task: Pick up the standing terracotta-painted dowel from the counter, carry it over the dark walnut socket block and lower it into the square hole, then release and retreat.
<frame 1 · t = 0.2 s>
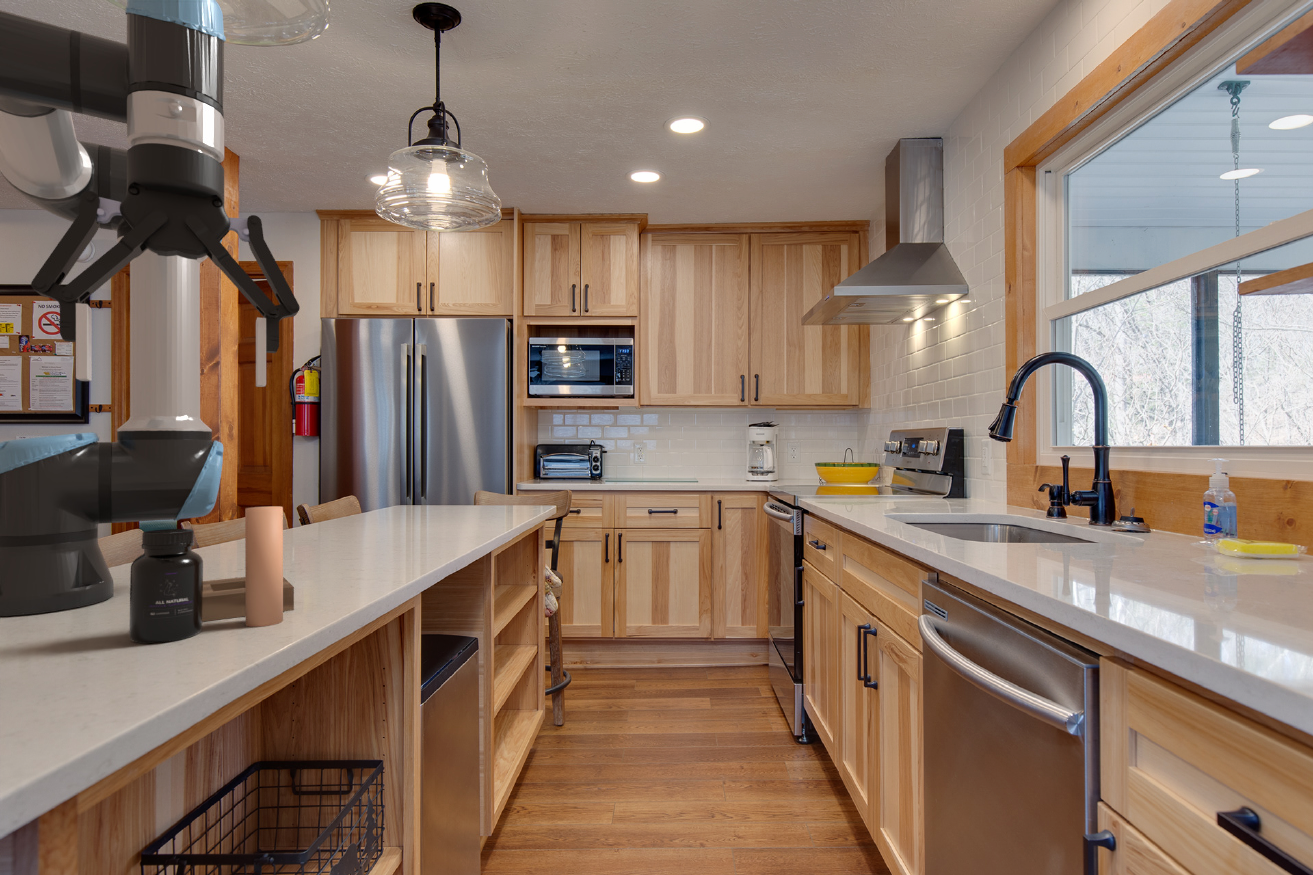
hand: (177, 383, 65), 27 cm above the counter, fingers open, 13 cm apart
dowel: (264, 622, 86), on the counter
socket block: (236, 607, 93), on the counter
supplement bottle: (167, 637, 80), on the counter
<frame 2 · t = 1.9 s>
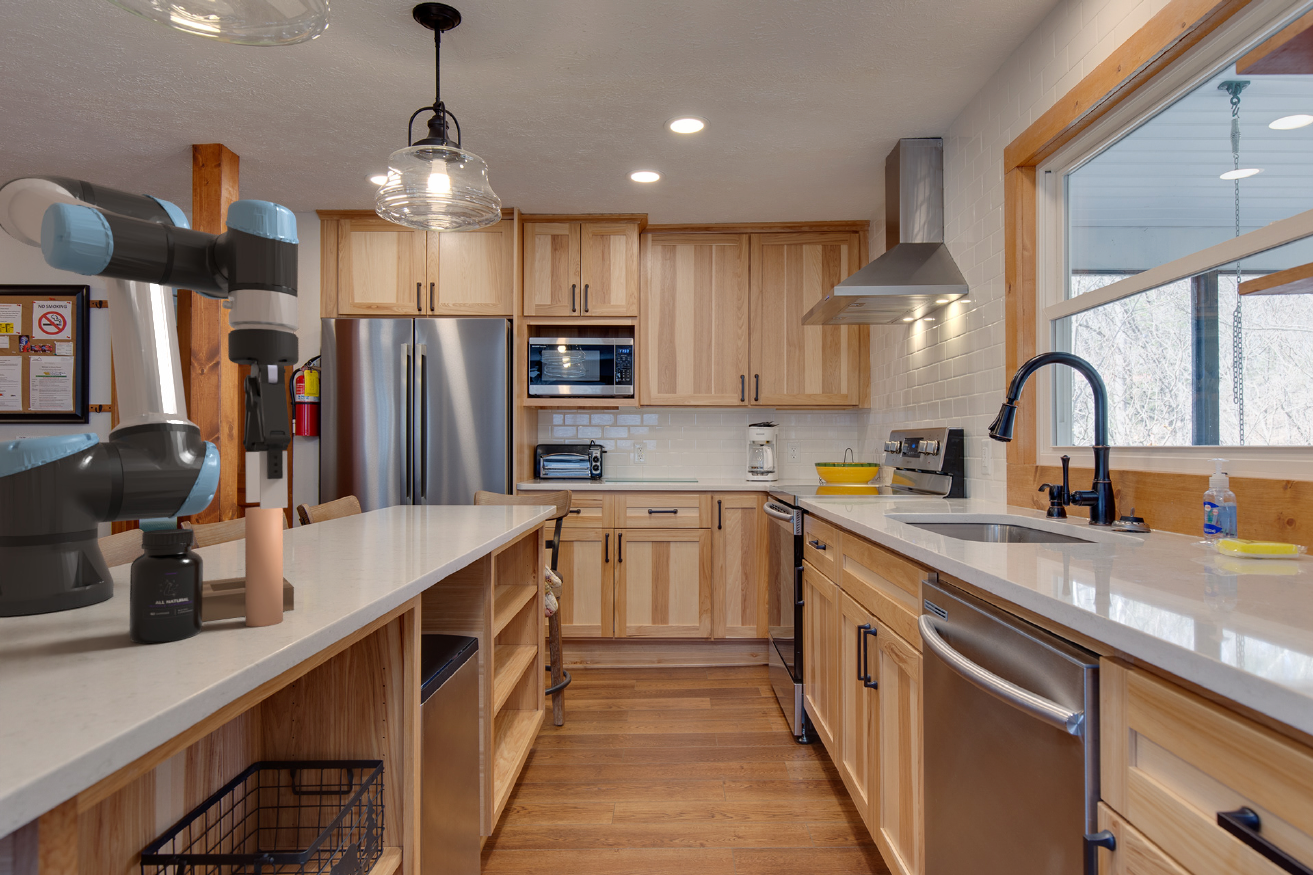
hand: (265, 505, 85), 14 cm above the counter, fingers open, 13 cm apart
nothing on the counter moved.
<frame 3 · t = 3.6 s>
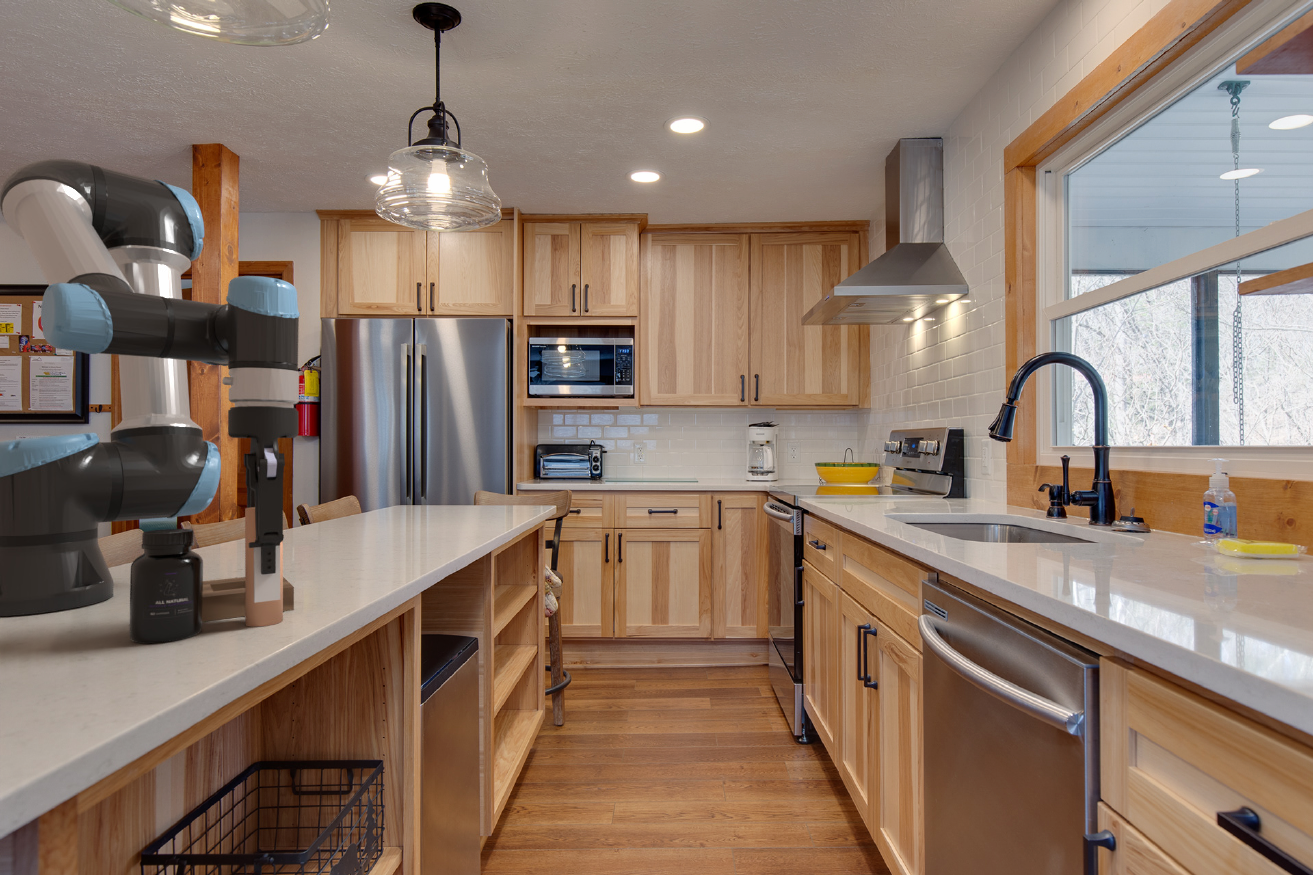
hand: (264, 596, 86), 3 cm above the counter, fingers closed on dowel, 4 cm apart
dowel: (264, 622, 86), on the counter, touching gripper
everything else where it was.
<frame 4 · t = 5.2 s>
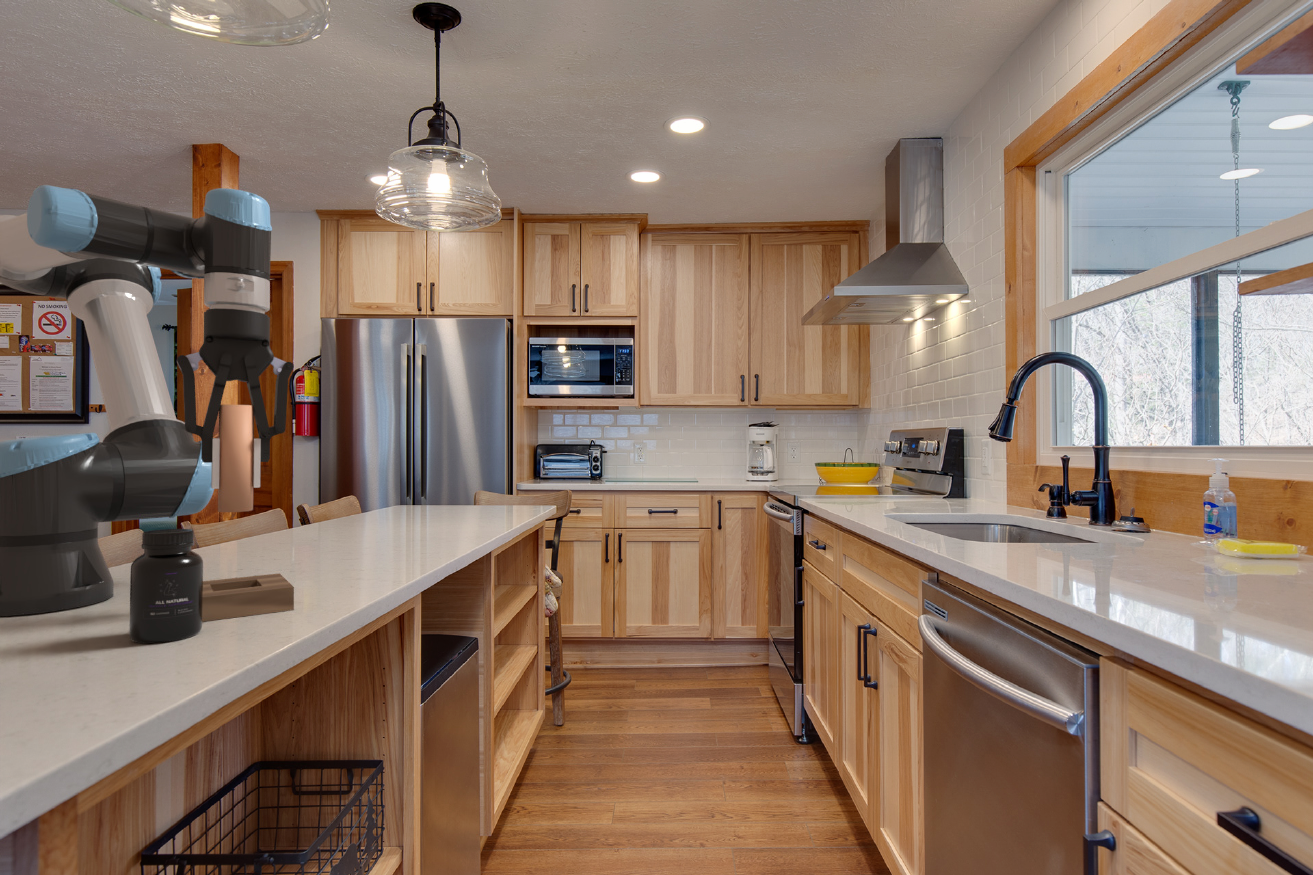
hand: (235, 487, 93), 16 cm above the counter, fingers closed on dowel, 4 cm apart
dowel: (235, 510, 93), point 13 cm above the counter, touching gripper
everything else where it was.
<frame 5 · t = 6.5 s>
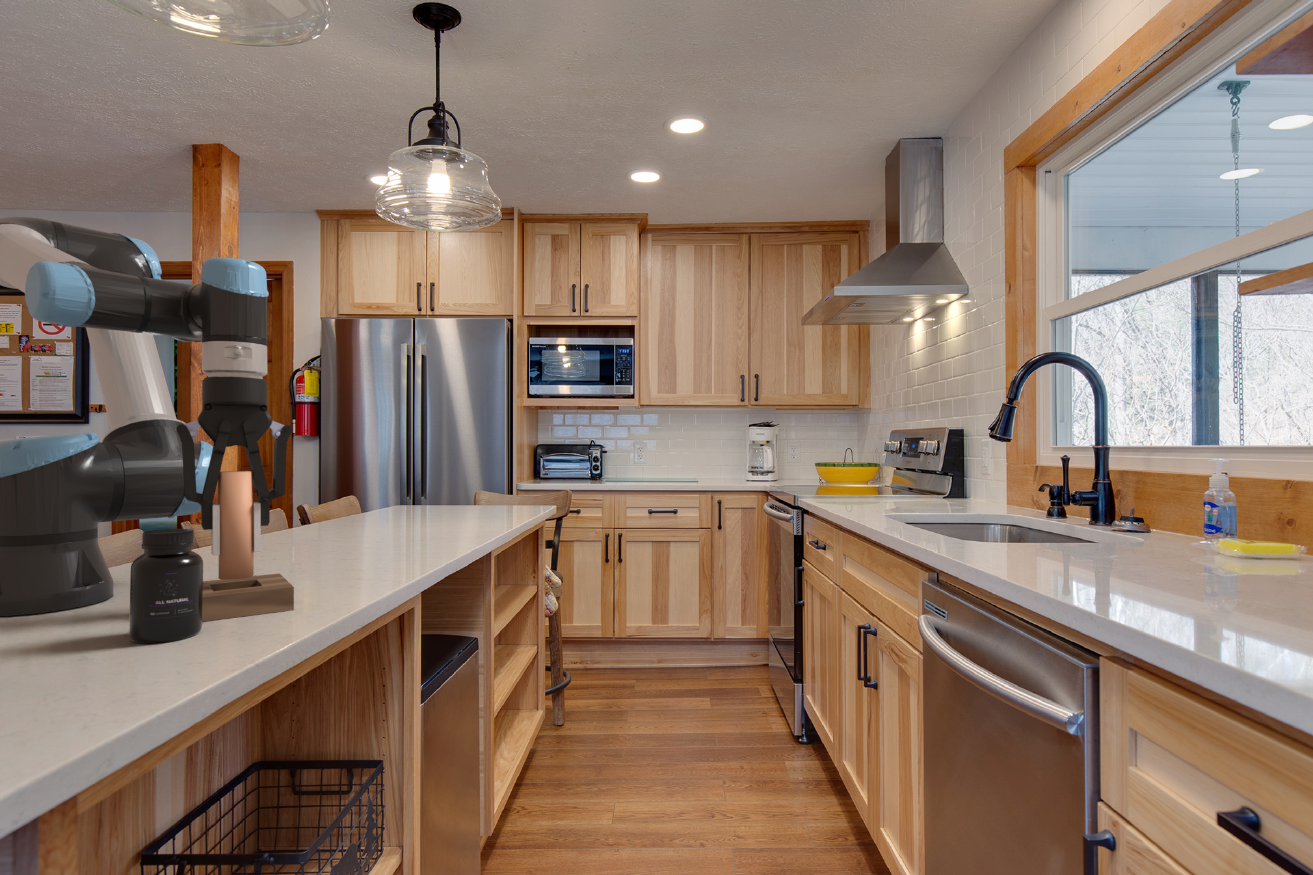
hand: (236, 552, 93), 7 cm above the counter, fingers closed on dowel, 4 cm apart
dowel: (236, 576, 93), point 4 cm above the counter, touching gripper
everything else where it was.
when the fingers open (5 cm above the counter, at t = 7.1 s): dowel drops 2 cm, resting in socket block.
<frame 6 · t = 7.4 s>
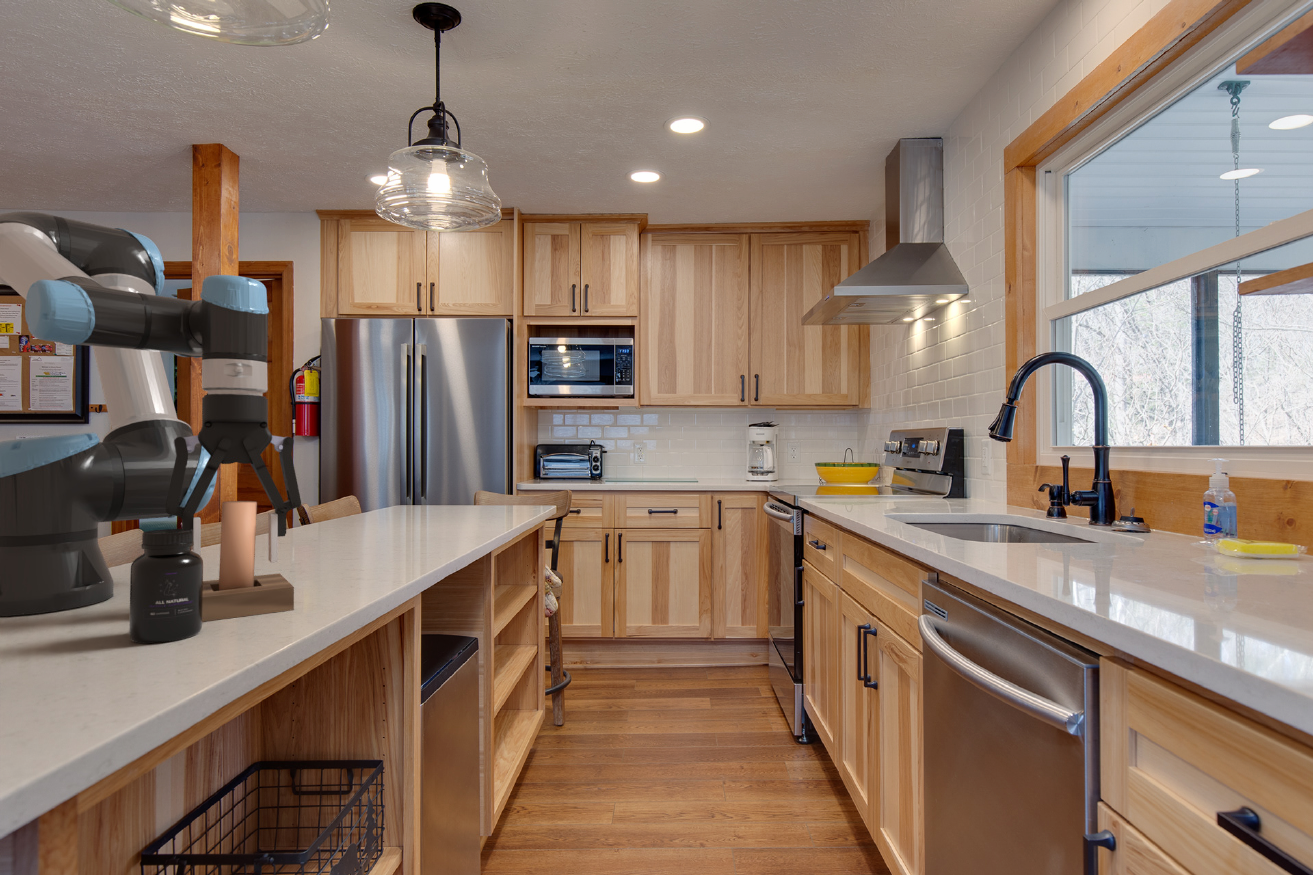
hand: (235, 564, 93), 6 cm above the counter, fingers open, 8 cm apart
dowel: (235, 607, 93), resting in socket block
everything else where it was.
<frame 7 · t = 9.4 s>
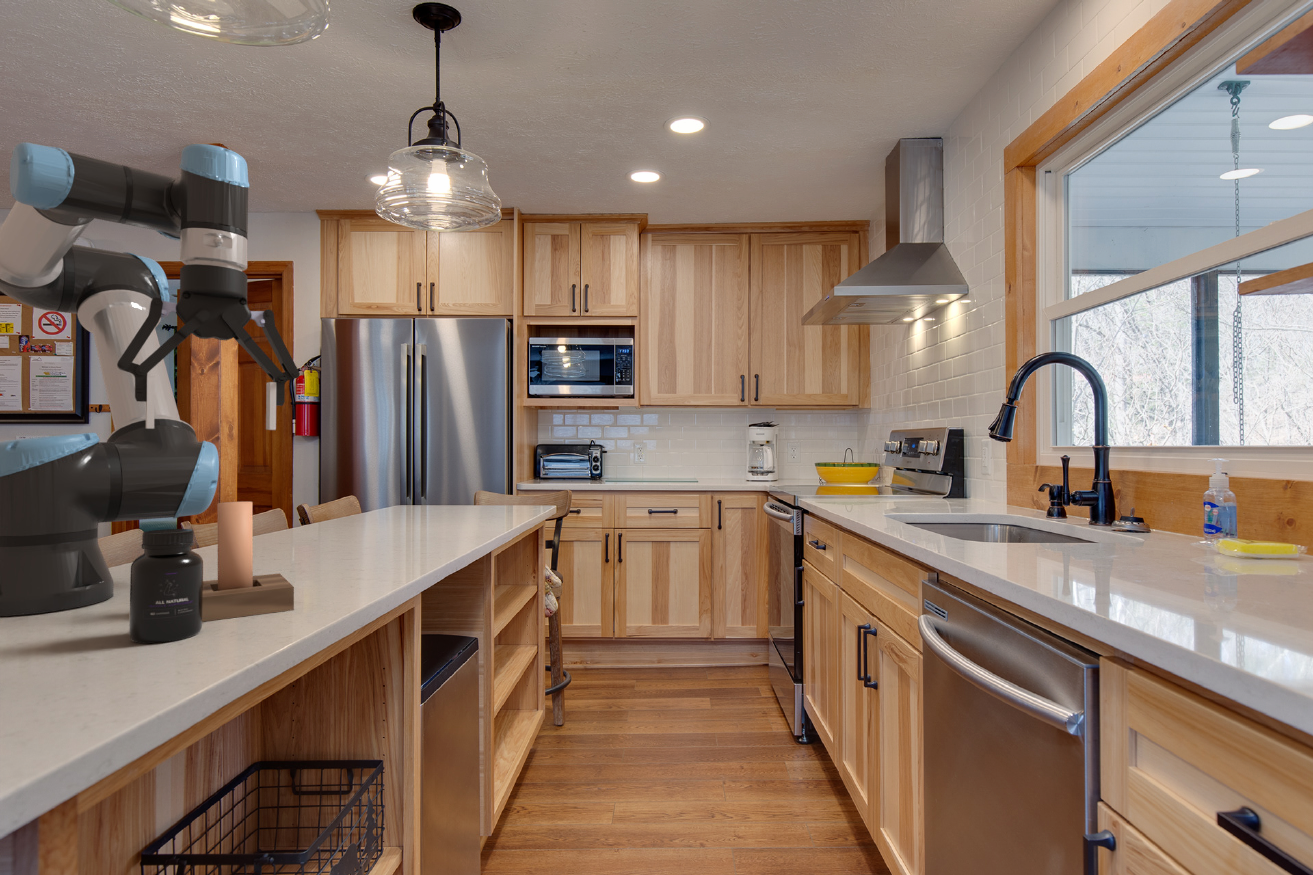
hand: (213, 429, 93), 24 cm above the counter, fingers open, 13 cm apart
nothing on the counter moved.
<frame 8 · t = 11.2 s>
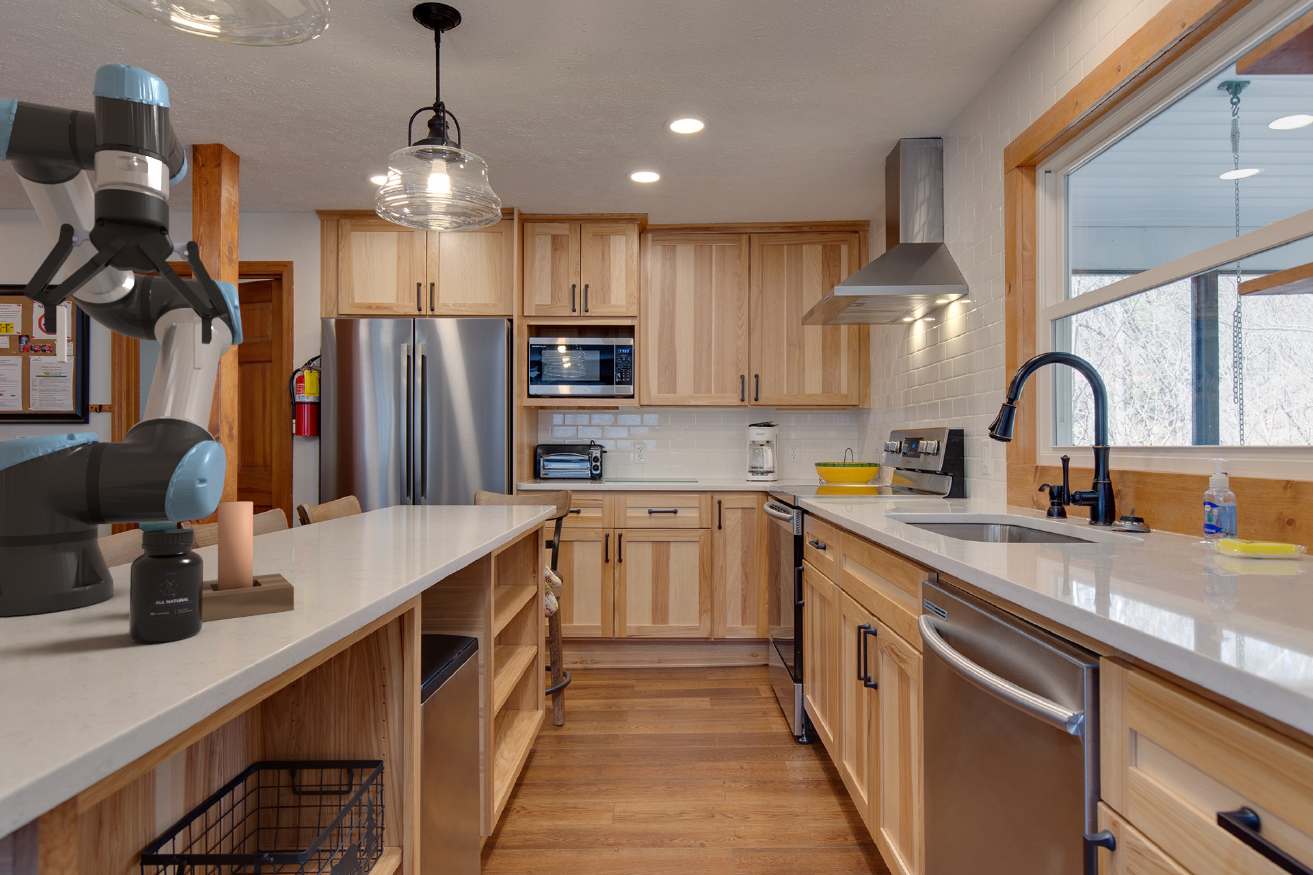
hand: (132, 365, 88), 32 cm above the counter, fingers open, 13 cm apart
nothing on the counter moved.
at the end: dowel 0.1 cm off-centre on the socket block, point 0.0 cm above the socket block's base; dowel tilted 0°; the gripper is holding nothing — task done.
